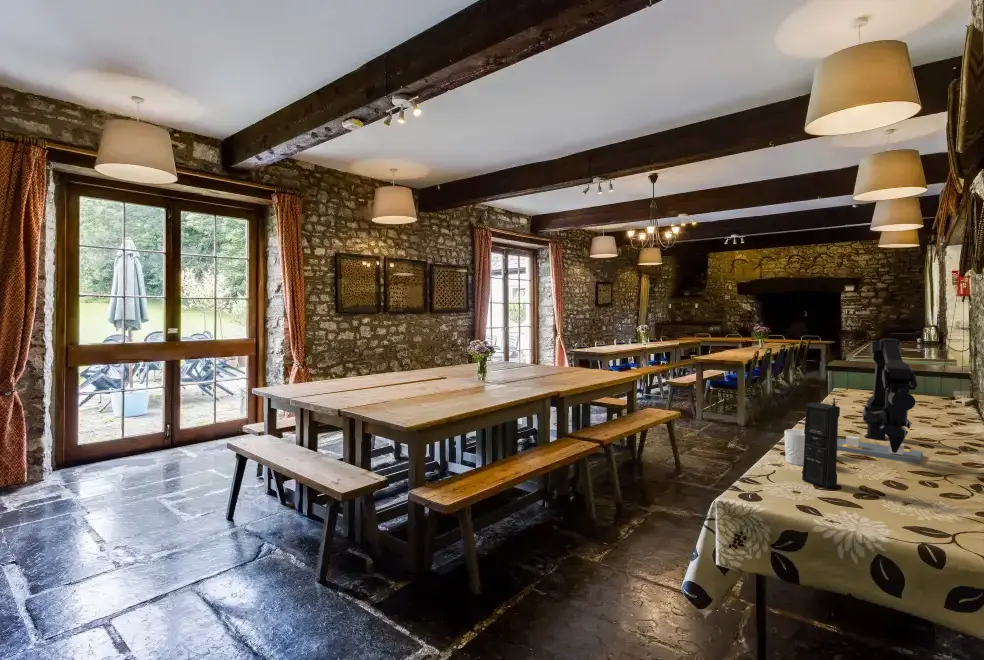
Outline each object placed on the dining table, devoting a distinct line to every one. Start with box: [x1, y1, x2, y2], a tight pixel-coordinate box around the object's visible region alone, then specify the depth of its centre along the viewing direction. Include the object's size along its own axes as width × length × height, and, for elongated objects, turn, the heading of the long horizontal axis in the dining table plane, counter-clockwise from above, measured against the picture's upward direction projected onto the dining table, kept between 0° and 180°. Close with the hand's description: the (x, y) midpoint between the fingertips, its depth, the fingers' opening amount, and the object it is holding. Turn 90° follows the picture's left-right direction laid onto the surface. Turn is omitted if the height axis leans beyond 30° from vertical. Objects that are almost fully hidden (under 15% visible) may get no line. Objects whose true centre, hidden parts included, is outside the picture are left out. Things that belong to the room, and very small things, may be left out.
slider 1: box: [845, 435, 861, 447], centre depth 174 cm, size 3×4×3 cm
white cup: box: [784, 428, 805, 467], centre depth 160 cm, size 8×8×10 cm
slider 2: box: [888, 443, 905, 455], centre depth 165 cm, size 3×4×3 cm
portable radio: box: [801, 397, 841, 489], centre depth 141 cm, size 8×6×25 cm
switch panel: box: [837, 437, 924, 465], centre depth 172 cm, size 13×24×2 cm, turn 45°
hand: (894, 452), depth 162 cm, fingers closed
